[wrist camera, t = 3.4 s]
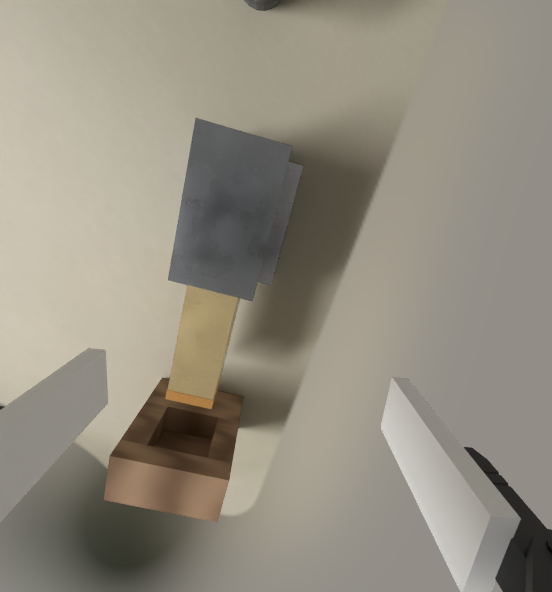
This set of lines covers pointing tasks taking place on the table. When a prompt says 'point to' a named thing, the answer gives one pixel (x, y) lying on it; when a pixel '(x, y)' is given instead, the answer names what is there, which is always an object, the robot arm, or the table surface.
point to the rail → (201, 346)
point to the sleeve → (233, 210)
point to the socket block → (176, 456)
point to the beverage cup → (262, 4)
